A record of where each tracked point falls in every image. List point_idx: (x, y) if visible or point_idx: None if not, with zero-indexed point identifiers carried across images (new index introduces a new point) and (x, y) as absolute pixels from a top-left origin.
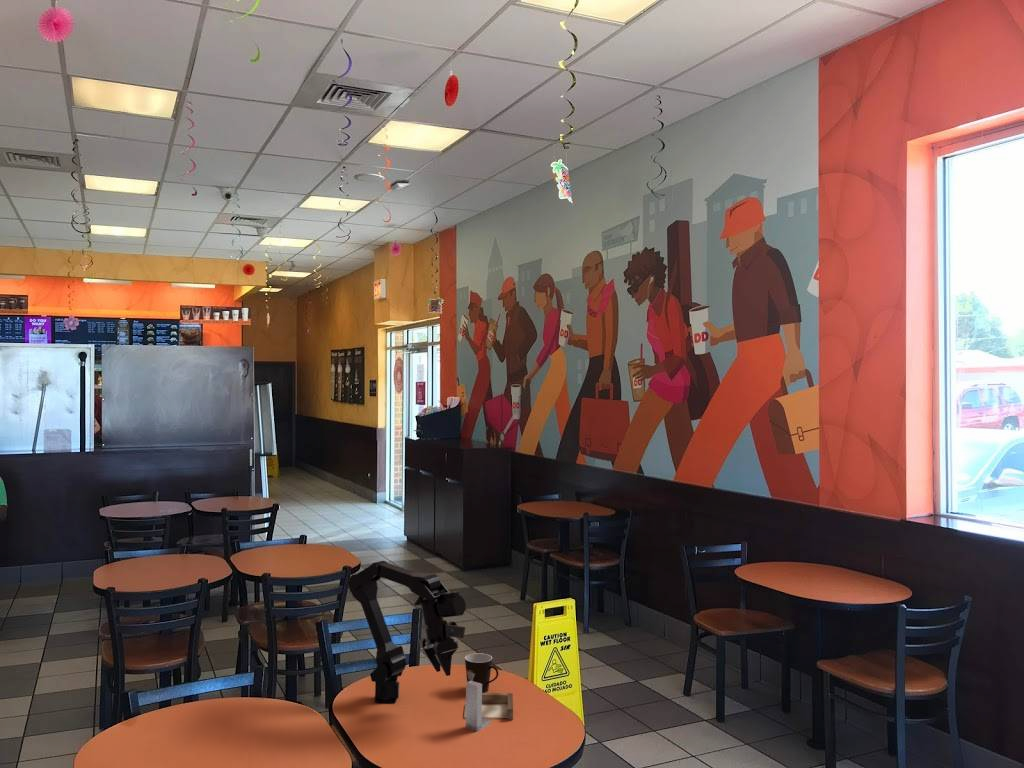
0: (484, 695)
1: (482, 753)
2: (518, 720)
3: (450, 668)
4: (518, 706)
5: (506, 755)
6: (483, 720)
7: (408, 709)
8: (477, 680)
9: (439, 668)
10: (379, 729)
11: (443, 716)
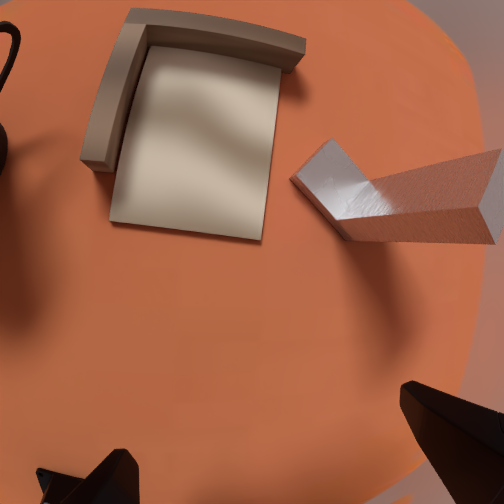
0: (115, 118)
1: None
2: None
3: (457, 398)
4: None
5: None
6: (334, 164)
7: (154, 451)
8: None
9: (122, 466)
10: (308, 493)
11: (229, 327)
